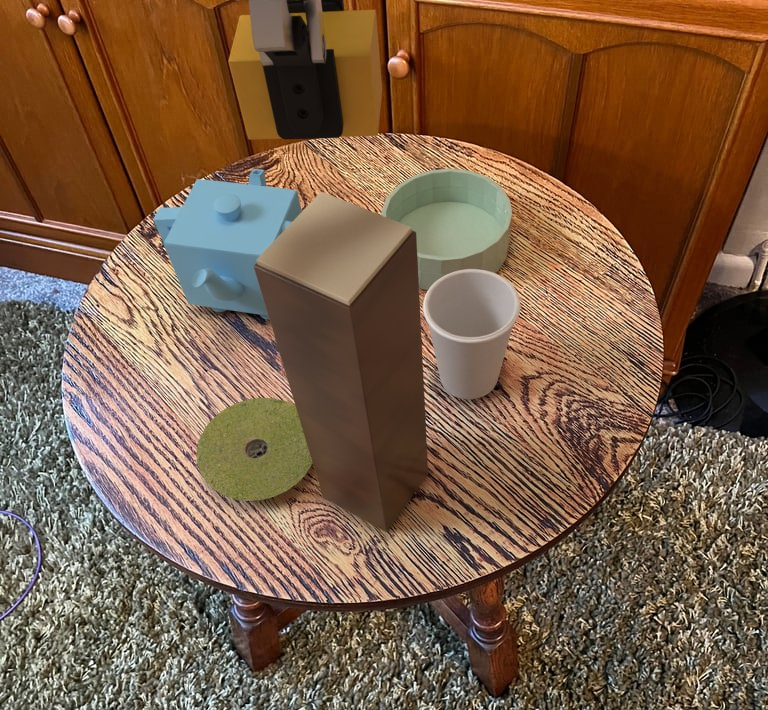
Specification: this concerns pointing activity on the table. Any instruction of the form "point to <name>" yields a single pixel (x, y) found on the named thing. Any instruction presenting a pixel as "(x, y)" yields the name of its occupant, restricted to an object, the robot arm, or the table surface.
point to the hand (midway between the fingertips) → (315, 102)
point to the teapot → (225, 239)
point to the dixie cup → (470, 329)
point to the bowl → (453, 221)
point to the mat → (254, 450)
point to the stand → (352, 351)
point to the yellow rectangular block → (353, 64)
